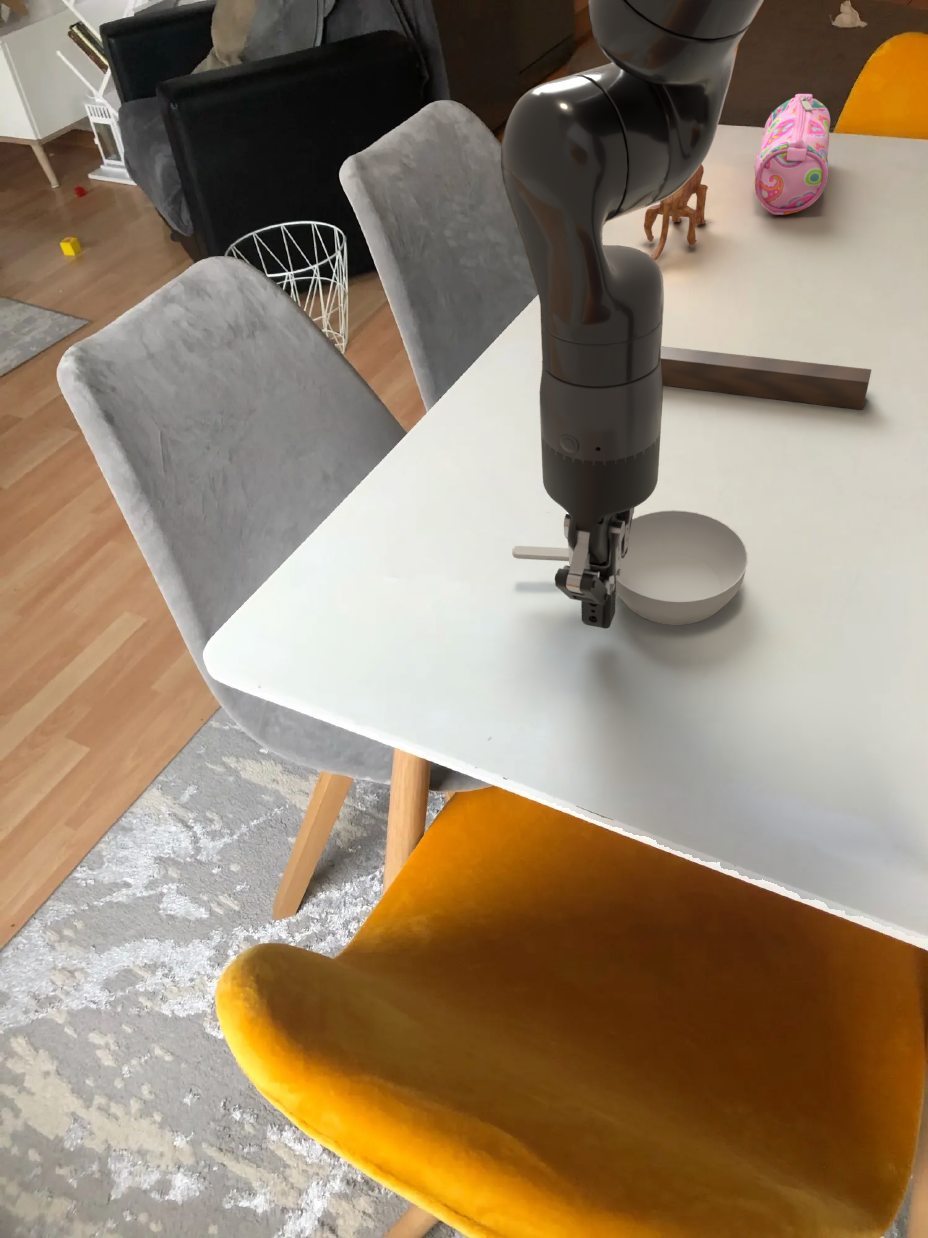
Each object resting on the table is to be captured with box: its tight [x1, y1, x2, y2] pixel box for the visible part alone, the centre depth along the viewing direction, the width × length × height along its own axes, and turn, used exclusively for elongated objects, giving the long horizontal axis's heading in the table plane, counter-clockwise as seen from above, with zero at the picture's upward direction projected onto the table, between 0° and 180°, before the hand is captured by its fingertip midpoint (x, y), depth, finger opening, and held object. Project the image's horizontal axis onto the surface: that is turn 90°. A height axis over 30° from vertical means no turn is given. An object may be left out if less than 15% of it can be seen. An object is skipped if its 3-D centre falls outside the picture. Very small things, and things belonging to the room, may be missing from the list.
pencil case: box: [754, 93, 831, 216], centre depth 126 cm, size 21×9×9 cm, turn 163°
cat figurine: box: [643, 163, 709, 262], centre depth 116 cm, size 18×7×14 cm, turn 153°
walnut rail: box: [661, 345, 872, 411], centre depth 96 cm, size 30×2×3 cm, turn 68°
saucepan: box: [511, 509, 749, 626], centre depth 76 cm, size 11×18×4 cm, turn 83°
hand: (598, 619), depth 72 cm, fingers closed
